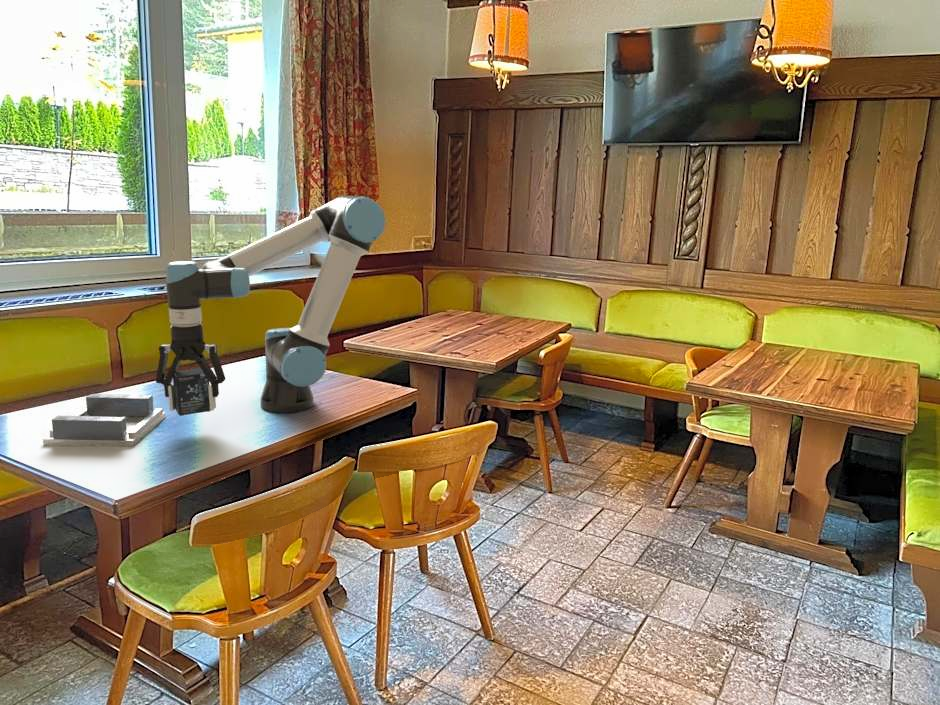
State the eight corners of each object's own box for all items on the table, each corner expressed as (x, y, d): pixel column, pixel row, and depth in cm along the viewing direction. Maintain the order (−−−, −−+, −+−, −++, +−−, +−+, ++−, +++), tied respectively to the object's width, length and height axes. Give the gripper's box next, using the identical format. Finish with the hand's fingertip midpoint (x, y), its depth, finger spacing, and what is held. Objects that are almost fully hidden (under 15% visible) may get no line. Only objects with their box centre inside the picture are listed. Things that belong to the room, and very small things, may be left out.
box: (179, 416, 177) (176, 376, 174) (175, 410, 181) (171, 371, 179) (212, 411, 181) (209, 372, 178) (206, 405, 186) (203, 367, 183)
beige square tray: (165, 417, 192) (164, 394, 191) (133, 446, 171) (131, 421, 169) (86, 415, 191) (84, 392, 189) (43, 445, 169) (40, 419, 168)
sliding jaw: (153, 412, 190) (152, 395, 189) (149, 416, 187) (148, 398, 186) (92, 411, 189) (91, 393, 188) (87, 415, 186) (85, 397, 185)
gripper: (135, 326, 171) (143, 413, 177) (227, 327, 173) (232, 413, 178) (146, 320, 178) (155, 404, 184) (234, 321, 180) (240, 404, 185)
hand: (193, 408), depth 181 cm, fingers closed on box, 9 cm apart
